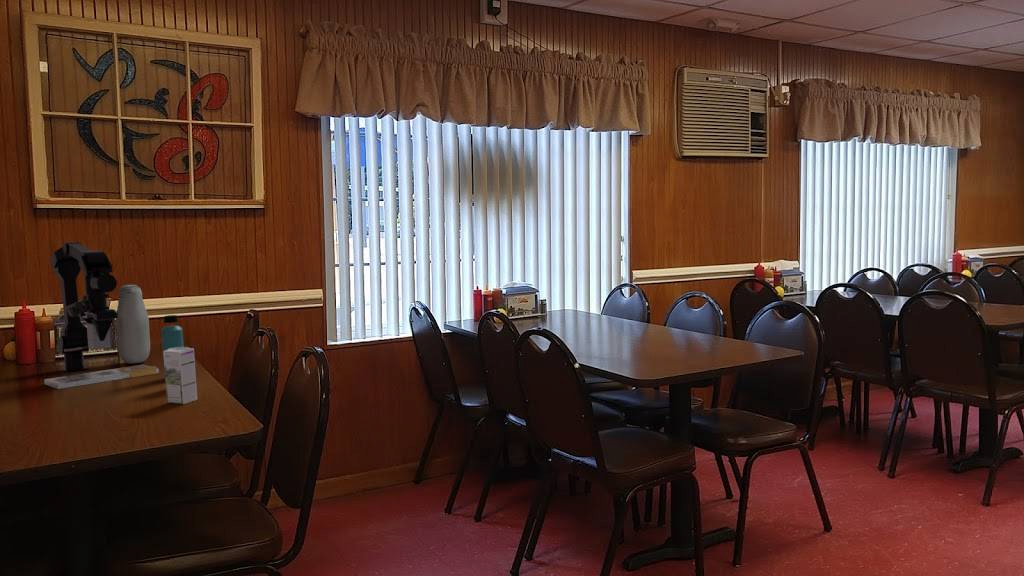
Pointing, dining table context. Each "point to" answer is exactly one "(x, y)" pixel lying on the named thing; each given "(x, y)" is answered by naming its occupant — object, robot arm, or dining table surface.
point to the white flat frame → (101, 376)
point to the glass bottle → (132, 325)
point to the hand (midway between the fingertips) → (99, 340)
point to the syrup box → (180, 375)
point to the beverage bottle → (171, 334)
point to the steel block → (97, 338)
